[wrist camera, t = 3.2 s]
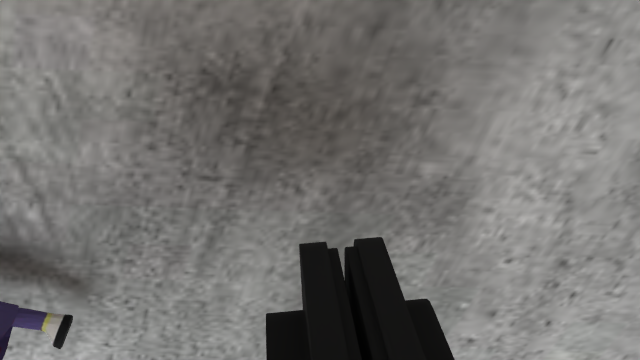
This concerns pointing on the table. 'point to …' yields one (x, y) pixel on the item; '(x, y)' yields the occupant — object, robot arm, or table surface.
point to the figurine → (32, 324)
